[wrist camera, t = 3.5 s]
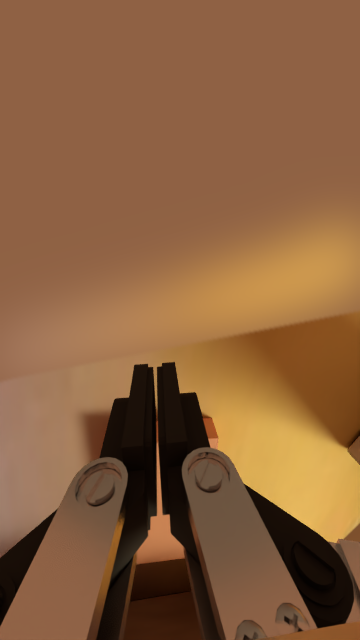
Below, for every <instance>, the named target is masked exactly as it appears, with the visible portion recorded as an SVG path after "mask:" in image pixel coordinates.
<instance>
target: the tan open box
mask: <svg viewBox="0 0 360 640" xmlns="http://www.w3.org/2000/svg"><path fill="white" fill-rule="evenodd" d="M123 640H202V637H201V633H200V628H199V623H198V618H197V614H196V609H195V604H194V599H193V594H192V591H190V592H184V593H178V594H172V595H166V596H160V597H154V598H148V599H142V600H136V601H130V603H129V609H128V615H127V621H126V626H125V632H124V638H123Z"/></svg>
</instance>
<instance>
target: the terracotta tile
mask: <svg viewBox="0 0 360 640" xmlns="http://www.w3.org/2000/svg"><path fill="white" fill-rule="evenodd" d="M203 421H204V425H205V428H206V432H207V436H208V440H209V444H210V447H211V448H214V449H217V447H218V436H217V432H216V429H215V426H214V423H213V420H212V418H203ZM156 424H157V516H154V517H151V526H150V530H148V537H147V539H146V540H145V541H144V543H143V544H142V545H141V546H140V548H139V549H138V550H137V561H136V564H143V563H151V562H158V561H166V560H174V559H182V558H185V556H184V551H183V545H182V544H181V543H180V542H179V541H178V540H177V539H176V538H175V537H174V536H173V535H172V534H171V530H170V514H169V515H163V513H162V497H161V481H160V465H159V448H158V421H156Z"/></svg>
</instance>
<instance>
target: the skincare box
mask: <svg viewBox="0 0 360 640" xmlns="http://www.w3.org/2000/svg"><path fill="white" fill-rule="evenodd" d="M348 452H349V454H350V455H351V456H352V457H353V458H354V459H355V460H356V461H357V462H358V463H359V465H360V436H359V437H358V438H357V439H356V440H355V442H354V443H353V444H352V445H351V446H350V447H349V449H348Z"/></svg>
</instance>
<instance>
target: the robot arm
mask: <svg viewBox="0 0 360 640" xmlns="http://www.w3.org/2000/svg"><path fill="white" fill-rule="evenodd" d="M157 396H158V448H159V465H160V481H161V497H162V513H163V515H169V514H170V530H171V534H172V535H173V536H174V537H175V538H176V539H177V540H178V541H179V542H180V543H181V544H182V545H183V551H184V556H185V561H186V566H187V571H188V575H189V580H190V585H191V590H192V594H193V599H194V604H195V609H196V614H197V618H198V623H199V628H200V633H201V637H202V640H360V542H356V541H350V540H343V539H338V541H337V543H333V542H327V541H326V540H325V539H324V538H323V537H321V536H320V535H319V534H318V533H316V532H315V531H313V530H312V529H310V528H309V527H307V526H306V525H304V524H303V523H301V522H300V521H298V520H297V519H296V518H294V517H293V516H291V515H290V514H288V513H287V512H285V511H284V510H282V509H281V508H279V507H278V506H276V505H275V504H273V503H272V502H270V501H269V500H267V499H266V498H264V497H263V496H261V495H260V494H258V493H257V492H255V491H254V490H253V489H251V488H250V487H248V486H247V485H245V484H244V483H243V482H242V480H241V478H240V476H239V474H238V472H237V470H236V468H235V466H234V464H233V463H232V461H231V460H230V458H229V457H228V456H227V455H225V454H224V453H223V452H221V451H219V450H217V449H214V448H211V447H210V444H209V440H208V436H207V432H206V428H205V425H204V421H203V417H202V413H201V409H200V406H199V402H198V398H197V395H196V393H195V392H194V393H181V394H180V392H179V386H178V380H177V373H176V367H175V362H171V363H162V367H157ZM154 516H157V424H156V406H155V390H154V374H153V367H148V364H140V365H134V371H133V377H132V383H131V390H130V396H129V398H116V399H115V400H114V403H113V406H112V410H111V414H110V418H109V422H108V426H107V430H106V434H105V438H104V442H103V446H102V450H101V454H100V458H99V459H96V460H94V461H91V462H90V463H88V464H87V465H85V466H84V467H83V468H82V469H81V470H80V471H79V472H78V473H77V474H76V475H75V477H74V478H73V480H72V482H71V484H70V486H69V488H68V490H67V492H66V494H65V496H64V498H63V500H62V502H61V504H60V506H59V508H58V509H57V510H56V511H55V512H53V513H52V514H51V515H50V516H49V517H48V518H46V519H45V520H44V521H43V522H42V523H41V524H39V525H38V526H37V527H36V528H35V529H34V530H32V531H31V532H30V533H29V534H28V535H27V536H25V537H24V538H23V539H22V540H21V541H20V542H18V543H17V544H16V545H15V546H14V547H13V548H11V549H10V550H9V551H8V552H7V553H6V554H4V555H3V556H2V557H1V558H0V640H123V638H124V632H125V626H126V621H127V615H128V609H129V603H130V597H131V591H132V585H133V579H134V573H135V567H136V561H137V550H138V549H139V548H140V546H141V545H142V544H143V543H144V541H145V540H146V539H147V537H148V530H150V526H151V517H154Z"/></svg>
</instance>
